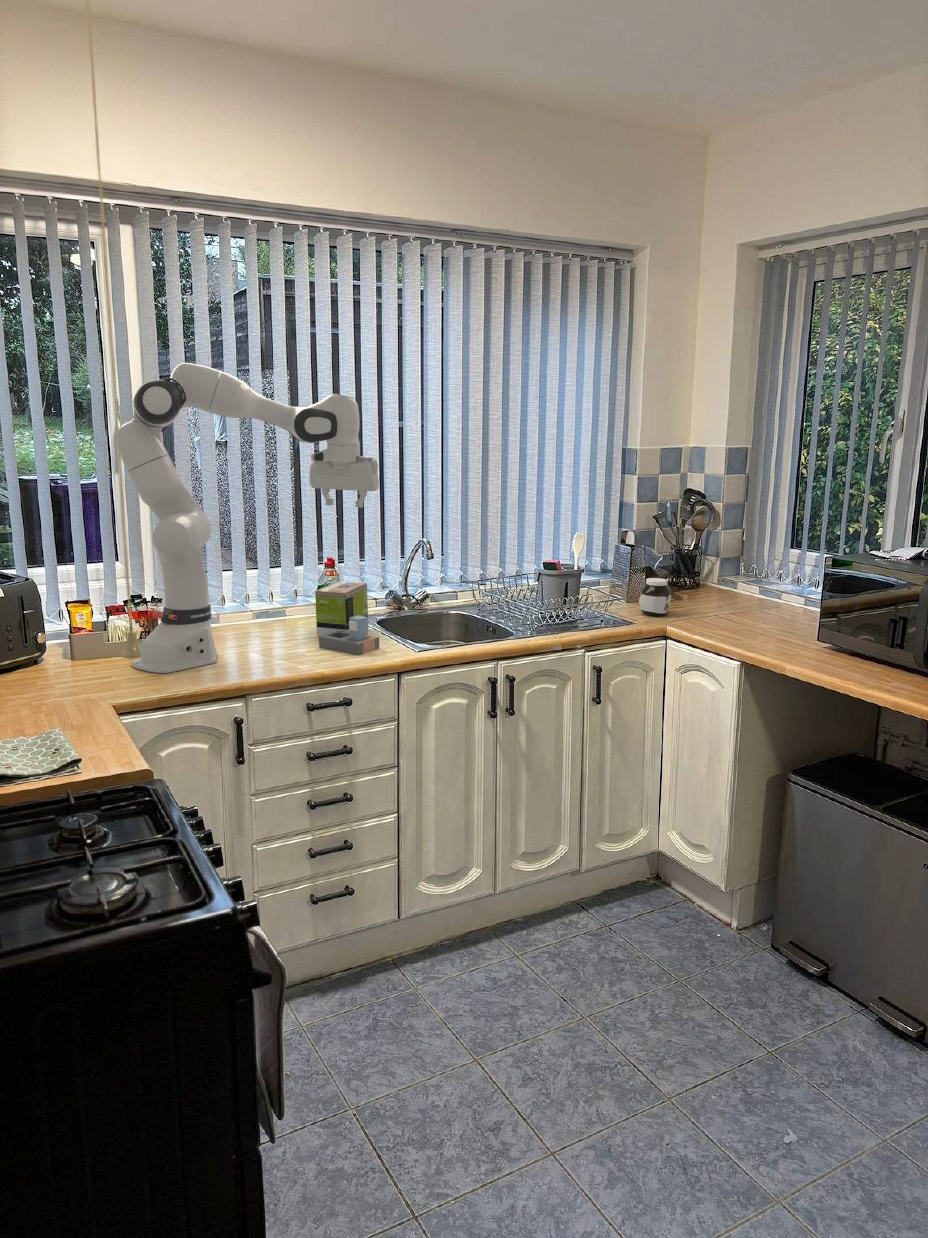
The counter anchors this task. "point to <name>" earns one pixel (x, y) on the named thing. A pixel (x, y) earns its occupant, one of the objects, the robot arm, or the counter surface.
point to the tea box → (339, 606)
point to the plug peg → (358, 628)
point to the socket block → (348, 643)
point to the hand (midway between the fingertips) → (344, 506)
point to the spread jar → (655, 597)
